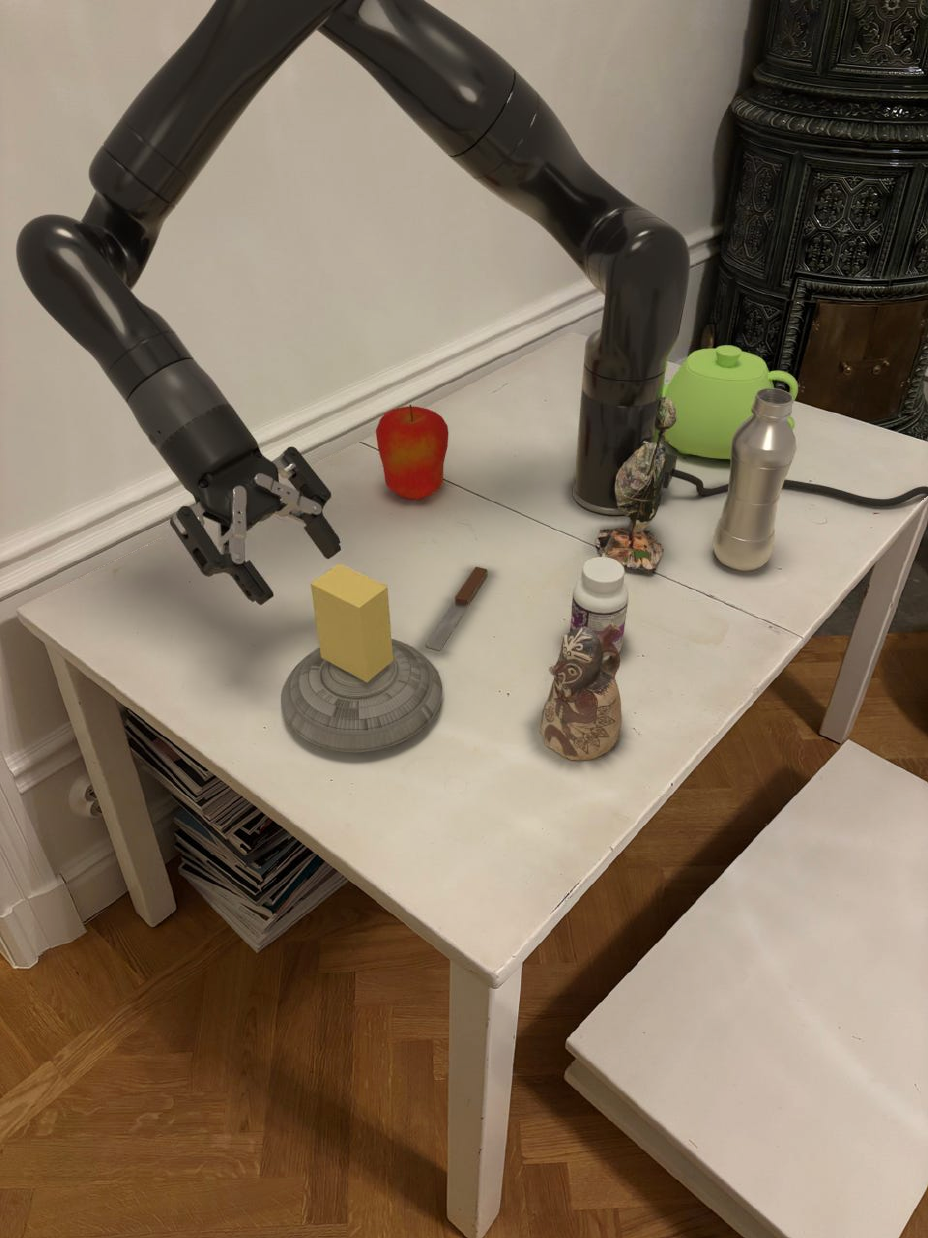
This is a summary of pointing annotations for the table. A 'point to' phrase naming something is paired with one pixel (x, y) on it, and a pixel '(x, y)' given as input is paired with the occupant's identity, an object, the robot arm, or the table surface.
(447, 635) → the butter knife
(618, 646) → the pill bottle
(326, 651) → the butter portion
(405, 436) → the apple
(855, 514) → the table surface
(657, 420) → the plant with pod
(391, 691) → the flying saucer
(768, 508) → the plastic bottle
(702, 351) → the teapot
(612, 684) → the figurine
